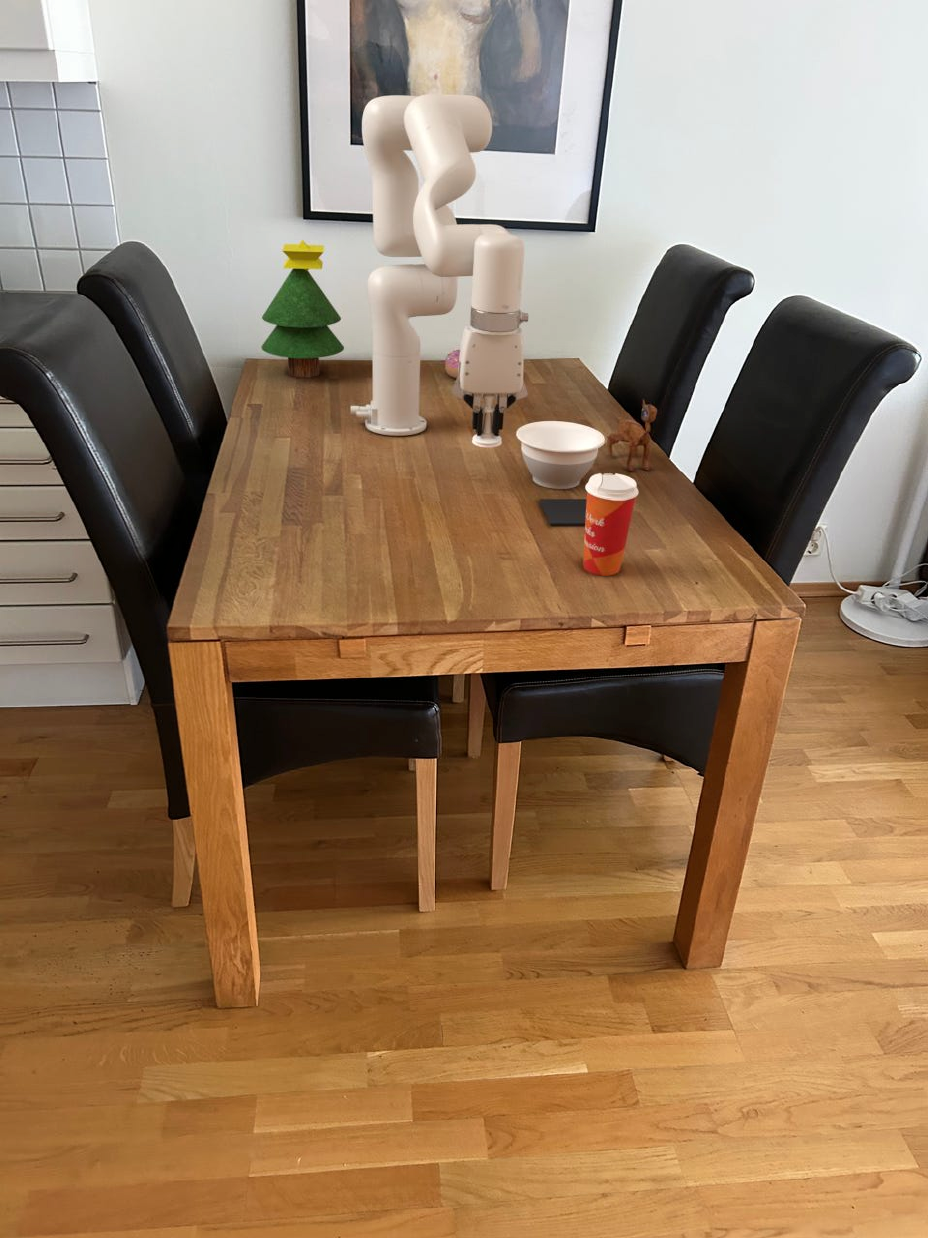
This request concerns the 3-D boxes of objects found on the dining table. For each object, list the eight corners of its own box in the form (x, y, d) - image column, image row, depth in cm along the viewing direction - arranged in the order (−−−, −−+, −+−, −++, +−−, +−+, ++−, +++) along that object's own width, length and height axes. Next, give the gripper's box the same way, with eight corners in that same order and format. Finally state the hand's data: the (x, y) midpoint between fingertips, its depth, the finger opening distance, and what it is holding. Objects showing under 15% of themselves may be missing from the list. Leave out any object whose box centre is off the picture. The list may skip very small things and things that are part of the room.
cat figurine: (592, 443, 190) (600, 376, 183) (622, 441, 191) (631, 375, 185) (628, 476, 175) (638, 404, 168) (660, 474, 177) (672, 403, 170)
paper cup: (571, 555, 145) (581, 470, 138) (620, 555, 146) (632, 471, 139) (581, 579, 138) (592, 491, 131) (632, 579, 139) (645, 492, 132)
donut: (503, 385, 222) (505, 364, 220) (443, 382, 222) (444, 361, 219) (502, 368, 235) (503, 348, 232) (445, 365, 234) (446, 345, 232)
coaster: (550, 526, 154) (550, 523, 154) (539, 501, 163) (539, 499, 163) (609, 525, 155) (609, 522, 155) (595, 501, 164) (595, 498, 164)
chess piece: (505, 439, 157) (508, 380, 151) (496, 449, 153) (499, 389, 147) (477, 435, 158) (479, 376, 153) (467, 444, 154) (470, 385, 149)
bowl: (576, 504, 162) (581, 457, 158) (497, 482, 169) (500, 437, 165) (613, 477, 174) (619, 433, 170) (538, 457, 181) (542, 414, 177)
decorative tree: (266, 361, 230) (258, 231, 215) (344, 362, 233) (342, 233, 217) (260, 384, 214) (250, 245, 199) (344, 385, 216) (341, 247, 201)
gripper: (541, 315, 149) (530, 426, 159) (441, 312, 147) (436, 424, 157) (549, 327, 143) (538, 442, 152) (445, 324, 141) (440, 441, 150)
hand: (486, 432), depth 154 cm, fingers closed on chess piece
